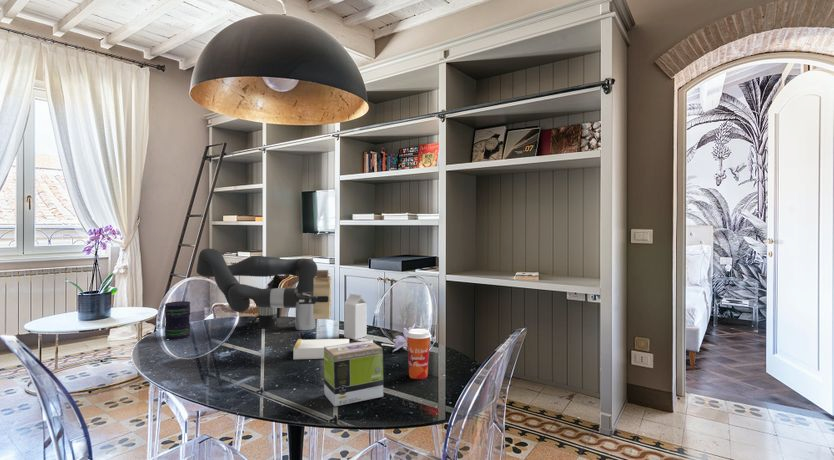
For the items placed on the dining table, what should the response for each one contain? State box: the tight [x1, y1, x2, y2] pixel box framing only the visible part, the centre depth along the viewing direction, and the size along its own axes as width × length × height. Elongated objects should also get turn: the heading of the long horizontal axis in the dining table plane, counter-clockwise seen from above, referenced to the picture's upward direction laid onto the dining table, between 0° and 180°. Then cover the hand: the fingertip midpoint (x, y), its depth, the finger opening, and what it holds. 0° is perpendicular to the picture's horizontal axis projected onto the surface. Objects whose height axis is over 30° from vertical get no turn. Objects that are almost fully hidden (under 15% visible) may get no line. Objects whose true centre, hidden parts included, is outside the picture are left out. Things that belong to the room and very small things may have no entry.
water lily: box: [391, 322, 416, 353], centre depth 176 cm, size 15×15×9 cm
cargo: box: [317, 269, 329, 278], centre depth 170 cm, size 4×4×4 cm
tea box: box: [323, 340, 384, 407], centre depth 129 cm, size 15×10×15 cm
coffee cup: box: [406, 328, 432, 380], centre depth 146 cm, size 8×8×15 cm
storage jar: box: [164, 300, 191, 341], centre depth 192 cm, size 10×10×15 cm
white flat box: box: [292, 338, 350, 360], centre depth 170 cm, size 12×20×4 cm, turn 97°
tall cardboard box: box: [313, 275, 332, 320], centre depth 170 cm, size 6×6×16 cm
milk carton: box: [343, 293, 368, 340], centre depth 195 cm, size 7×7×19 cm
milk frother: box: [247, 307, 282, 329], centre depth 216 cm, size 14×16×15 cm
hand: (328, 297), depth 170 cm, fingers closed on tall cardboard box, 6 cm apart
